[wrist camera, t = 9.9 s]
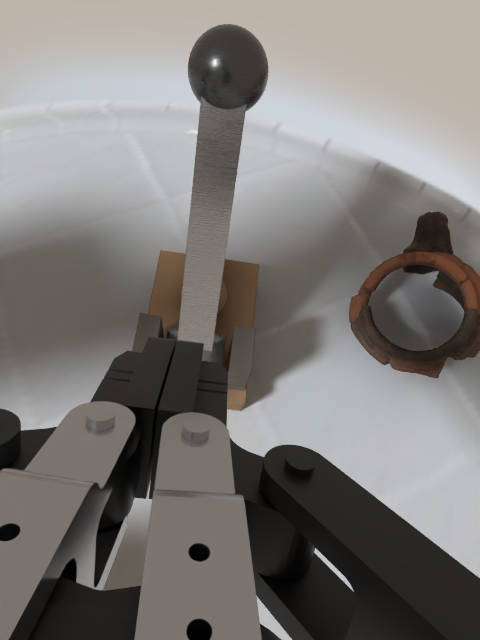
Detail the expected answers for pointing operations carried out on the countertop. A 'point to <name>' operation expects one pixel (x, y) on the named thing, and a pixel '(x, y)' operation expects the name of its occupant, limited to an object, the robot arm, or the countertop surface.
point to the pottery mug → (453, 278)
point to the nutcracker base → (230, 318)
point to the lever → (216, 171)
